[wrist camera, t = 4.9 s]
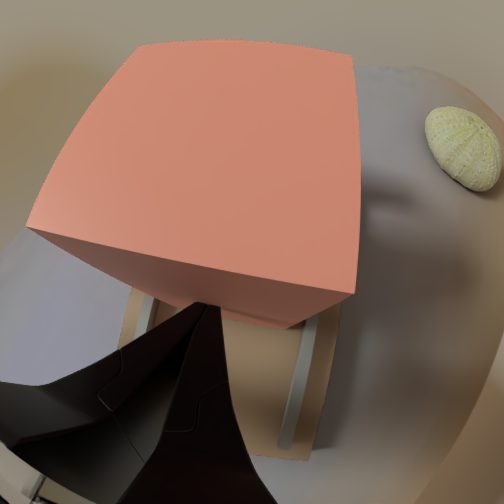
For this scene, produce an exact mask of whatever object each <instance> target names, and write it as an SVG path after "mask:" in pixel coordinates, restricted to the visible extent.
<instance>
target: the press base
mask: <svg viewBox="0 0 504 504" xmlns="http://www.w3.org/2000/svg"><path fill="white" fill-rule="evenodd" d="M341 306H342V301H340V302H338V303H337V304H335V305H333V306H331V307H329V308H327V309H325V310H323V311H321V312H319V313H317V314H315V315H313V316H311V317H309V318H307V319H305V320H303V321H301V322H299V323H297V324H295V325H293V326H291V327H288V328H286V329H284V330H282V329H276V328H271V327H265V326H260V325H255V324H250V323H245V322H240V321H235V320H230V319H225V318H222V325H223V334H224V343H225V352H226V361H227V369H228V377H229V384H230V392H231V398H232V403H233V408H234V412H235V415H236V419H237V422H238V425H239V428H240V431H241V434H242V437H243V440H244V443H245V446H246V448H247V451H248V454H253V455H259V456H266V457H273V458H282V459H291V460H303V461H308V460H309V456H310V453H311V450H312V446H313V443H314V439H315V436H316V432H317V428H318V424H319V420H320V416H321V412H322V408H323V404H324V400H325V395H326V391H327V386H328V382H329V377H330V372H331V367H332V361H333V356H334V351H335V345H336V339H337V333H338V327H339V320H340V313H341ZM181 310H183V309H182V308H178V307H174V306H172V305H170V304H167V303H165V302H163V301H161V300H159V299H157V298H154V297H152V296H150V295H148V294H146V293H144V292H142V291H140V290H138V289H136V288H134V287H132V289H131V293H130V297H129V301H128V305H127V309H126V313H125V317H124V321H123V326H122V330H121V335H120V339H119V344H118V349H119V350H120V348H121V347H123V346H125V345H126V344H128V343H130V342H131V341H133V340H134V339H136V338H138V337H139V336H141V335H143V334H144V333H146V332H147V331H149V330H151V329H152V328H154V327H156V326H157V325H159V324H160V323H162V322H164V321H165V320H167V319H168V318H170V317H172V316H173V315H175V314H176V313H178V312H180V311H181ZM118 349H117V350H118Z"/></svg>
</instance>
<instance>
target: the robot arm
mask: <svg viewBox="0 0 504 504" xmlns="http://www.w3.org/2000/svg"><path fill="white" fill-rule="evenodd" d="M0 504H278V503H277V502H276V500H275V499H274V498H273V496H272V495H271V493H270V492H269V491H268V489H267V488H266V486H265V485H264V483H263V482H262V480H261V479H260V477H259V476H258V474H257V472H256V470H255V468H254V466H253V464H252V462H251V459H250V457H249V454H248V451H247V448H246V446H245V443H244V440H243V437H242V434H241V431H240V428H239V425H238V422H237V419H236V415H235V412H234V408H233V403H232V398H231V392H230V384H229V377H228V369H227V361H226V352H225V343H224V334H223V325H222V315H221V308H220V306H215V305H211V304H210V305H208V304H206V303H202V302H194V303H192V304H191V305H189V306H188V307H186V308H184V309H183V310H181V311H180V312H178V313H176V314H175V315H173V316H172V317H170V318H168V319H167V320H165V321H164V322H162V323H160V324H159V325H157V326H156V327H154V328H152V329H151V330H149V331H147V332H146V333H144V334H143V335H141V336H139V337H138V338H136V339H134V340H133V341H131V342H130V343H128V344H126V345H125V346H123V347H121V348H120V350H119V349H118V350H116V351H115V352H113V353H111V354H110V355H108V356H106V357H104V358H103V359H101V360H99V361H97V362H95V363H93V364H91V365H89V366H87V367H85V368H83V369H81V370H79V371H77V372H74V373H72V374H70V375H68V376H66V377H63V378H61V379H59V380H57V381H54V382H52V383H49V384H45V385H40V386H30V385H22V384H14V383H7V382H1V381H0Z"/></svg>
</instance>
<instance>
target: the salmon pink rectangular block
mask: <svg viewBox="0 0 504 504" xmlns="http://www.w3.org/2000/svg"><path fill="white" fill-rule="evenodd" d="M360 206H361V162H360V135H359V119H358V106H357V95H356V86H355V77H354V70H353V62H352V57H351V56H348V55H344V54H340V53H335V52H331V51H326V50H321V49H315V48H309V47H303V46H297V45H289V44H281V43H272V42H259V41H241V40H196V41H180V42H168V43H159V44H151V45H144V46H140V47H139V48H138V49H137V50H136V51H135V52H134V53H133V54H132V55H131V56H130V57H129V58H128V59H127V60H126V62H125V63H124V64H123V65H122V66H121V67H120V68H119V70H118V71H117V72H116V73H115V74H114V76H113V77H112V78H111V79H110V80H109V81H108V83H107V84H106V85H105V87H104V88H103V89H102V90H101V92H100V93H99V94H98V96H97V97H96V98H95V100H94V101H93V102H92V104H91V105H90V107H89V108H88V109H87V111H86V112H85V114H84V115H83V117H82V118H81V120H80V121H79V123H78V124H77V126H76V127H75V129H74V130H73V132H72V134H71V135H70V137H69V138H68V140H67V142H66V143H65V145H64V147H63V149H62V150H61V152H60V154H59V155H58V157H57V159H56V161H55V163H54V165H53V166H52V168H51V171H50V172H49V174H48V176H47V178H46V180H45V182H44V184H43V186H42V189H41V191H40V193H39V195H38V197H37V200H36V202H35V204H34V206H33V209H32V211H31V214H30V216H29V219H28V222H27V224H26V227H27V228H29V229H31V230H32V231H34V232H35V233H37V234H38V235H40V236H42V237H43V238H45V239H47V240H48V241H50V242H51V243H53V244H55V245H56V246H58V247H60V248H61V249H63V250H65V251H67V252H68V253H70V254H72V255H74V256H75V257H77V258H79V259H81V260H82V261H84V262H86V263H88V264H90V265H91V266H93V267H95V268H97V269H99V270H101V271H103V272H104V273H106V274H108V275H110V276H112V277H114V278H116V279H118V280H120V281H122V282H124V283H126V284H128V285H130V286H132V287H134V288H136V289H138V290H140V291H142V292H144V293H146V294H148V295H150V296H152V297H154V298H157V299H159V300H161V301H163V302H165V303H167V304H170V305H172V306H174V307H178V308H182V309H184V308H186V307H188V306H189V305H191V304H192V303H194V302H202V303H206V304H208V305H210V304H211V305H215V306H220V308H221V315H222V318H225V319H230V320H235V321H240V322H245V323H250V324H255V325H260V326H265V327H271V328H276V329H282V330H284V329H286V328H288V327H291V326H293V325H295V324H297V323H299V322H301V321H303V320H305V319H307V318H309V317H311V316H313V315H315V314H317V313H319V312H321V311H323V310H325V309H327V308H329V307H331V306H333V305H335V304H337V303H338V302H340V301H342V300H344V299H346V298H348V297H350V296H351V295H353V294H355V285H356V275H357V264H358V250H359V233H360Z"/></svg>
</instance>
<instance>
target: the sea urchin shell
mask: <svg viewBox="0 0 504 504" xmlns="http://www.w3.org/2000/svg"><path fill="white" fill-rule="evenodd" d="M425 135H426V139H427V140H428V144H429V149H430V150H431V151H432V153H433V155H434V158H435V160H436V161H437V163H438V164H439V166H440V167H441V168H442V169H443V170H444V171H445V172H447V173H448V174H449V175H450V176H451V177H452V178H453V179H455V180H457V181H458V182H460V183H461V184H462V185H463V186H466V188H470V189H472V190H474V191H477V192H479V191H487V190H488V189H490V188H491V187H492V186H493V185H494V184H495V183H496V182H498V178H499V176H500V172H501V169H502V164H503V161H502V149H501V145H500V143H499V141H498V139H497V137H496V136H495V135H494V133H493V131H492V129H491V128H489V127H488V125H487V124H486V123H485V122H484V121H482V120H481V119H480V118H479V117H478V116H477V115H475V114H473V112H469V111H466V110H464V109H461V108H455V107H449V106H447V107H441V108H437V109H435V110H433V111H431V112H430V113H429V115H428V116H427V118H426V120H425Z"/></svg>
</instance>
